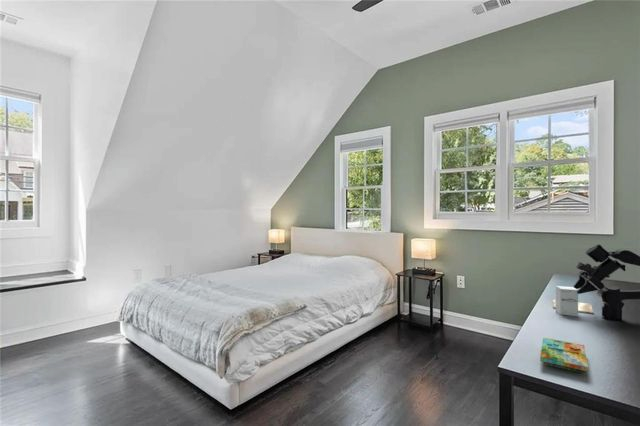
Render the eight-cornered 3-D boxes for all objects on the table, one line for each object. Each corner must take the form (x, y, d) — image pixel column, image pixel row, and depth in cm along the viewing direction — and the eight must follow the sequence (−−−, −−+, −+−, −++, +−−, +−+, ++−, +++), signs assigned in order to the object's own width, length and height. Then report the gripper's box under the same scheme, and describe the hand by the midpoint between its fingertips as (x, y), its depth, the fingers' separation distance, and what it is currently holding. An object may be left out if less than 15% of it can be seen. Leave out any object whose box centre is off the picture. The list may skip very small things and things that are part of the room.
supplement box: (559, 314, 158) (559, 288, 157) (555, 310, 164) (555, 285, 164) (578, 316, 155) (578, 289, 155) (573, 312, 162) (573, 286, 162)
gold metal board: (590, 305, 173) (590, 303, 173) (593, 314, 158) (593, 312, 158) (553, 300, 182) (553, 299, 182) (552, 308, 168) (552, 306, 168)
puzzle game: (584, 342, 113) (588, 364, 97) (584, 356, 114) (588, 380, 97) (543, 335, 120) (540, 354, 104) (543, 347, 120) (540, 369, 104)
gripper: (584, 254, 164) (557, 274, 169) (595, 259, 147) (565, 281, 152) (604, 271, 161) (576, 291, 166) (618, 278, 144) (586, 300, 149)
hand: (575, 290), depth 158 cm, fingers open, 9 cm apart
